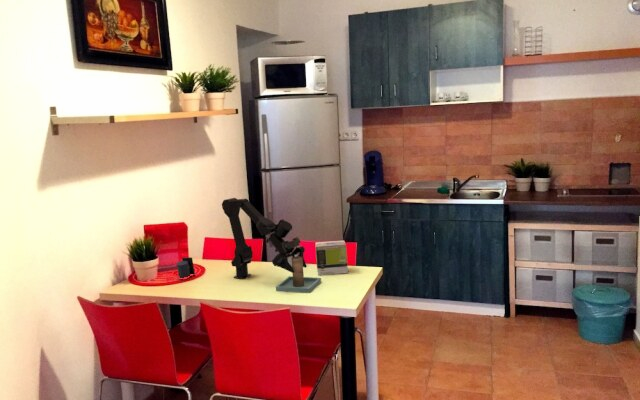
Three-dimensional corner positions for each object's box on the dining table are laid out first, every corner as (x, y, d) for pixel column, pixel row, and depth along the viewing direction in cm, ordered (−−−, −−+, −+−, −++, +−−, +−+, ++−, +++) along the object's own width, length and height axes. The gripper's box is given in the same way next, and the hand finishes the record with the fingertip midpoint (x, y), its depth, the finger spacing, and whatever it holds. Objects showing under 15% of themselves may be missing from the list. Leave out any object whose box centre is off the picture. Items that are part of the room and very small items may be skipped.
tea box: (346, 268, 278) (345, 239, 276) (348, 273, 268) (346, 244, 266) (316, 270, 278) (315, 241, 275) (317, 275, 268) (315, 246, 265)
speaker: (187, 274, 281) (184, 255, 278) (195, 276, 278) (192, 257, 275) (176, 280, 275) (173, 260, 272) (184, 282, 272) (181, 262, 269)
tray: (289, 280, 262) (289, 276, 262) (321, 282, 257) (320, 277, 257) (275, 290, 247) (275, 286, 247) (309, 292, 242) (308, 288, 242)
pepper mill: (292, 284, 254) (290, 257, 252) (303, 283, 255) (301, 255, 253) (294, 287, 249) (292, 259, 247) (305, 286, 250) (303, 258, 248)
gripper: (275, 237, 243) (296, 264, 239) (300, 228, 258) (321, 254, 253) (263, 252, 249) (283, 279, 244) (288, 243, 264) (308, 268, 259)
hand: (300, 269), depth 250 cm, fingers open, 9 cm apart
